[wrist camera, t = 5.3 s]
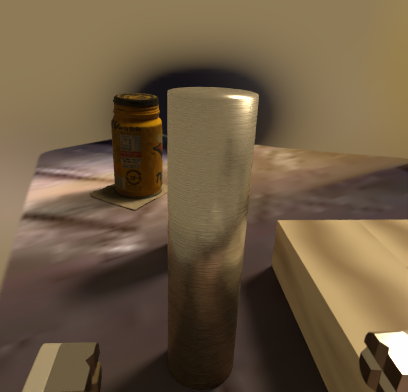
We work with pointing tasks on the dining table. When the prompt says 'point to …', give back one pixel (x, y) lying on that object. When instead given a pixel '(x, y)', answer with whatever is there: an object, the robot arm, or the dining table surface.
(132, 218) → the dining table surface
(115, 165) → the condiment
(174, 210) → the tall metal pin
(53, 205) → the dining table surface
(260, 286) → the dining table surface
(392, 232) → the hole block
